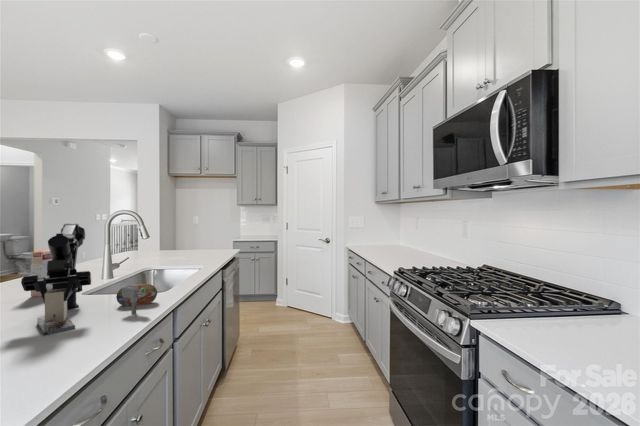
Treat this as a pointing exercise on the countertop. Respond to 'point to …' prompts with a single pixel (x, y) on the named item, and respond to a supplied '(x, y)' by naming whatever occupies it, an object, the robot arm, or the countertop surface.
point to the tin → (147, 299)
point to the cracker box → (40, 267)
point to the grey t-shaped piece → (133, 294)
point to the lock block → (55, 305)
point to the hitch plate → (54, 326)
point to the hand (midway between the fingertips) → (55, 301)
